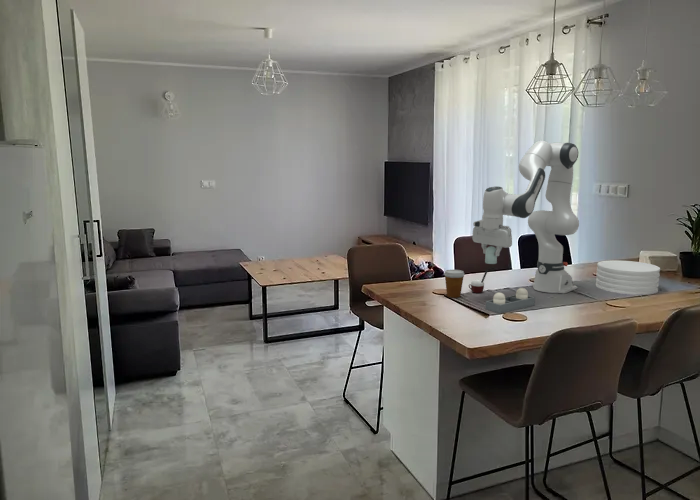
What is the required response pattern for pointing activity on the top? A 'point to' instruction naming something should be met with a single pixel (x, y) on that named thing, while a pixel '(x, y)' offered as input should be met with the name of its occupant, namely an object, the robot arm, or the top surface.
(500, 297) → the outer cream egg
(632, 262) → the plate stack
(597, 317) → the top surface
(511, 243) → the robot arm
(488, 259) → the blue egg
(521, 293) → the inner cream egg
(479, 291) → the cocoa
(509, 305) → the egg crate
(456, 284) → the disposable coffee cup
